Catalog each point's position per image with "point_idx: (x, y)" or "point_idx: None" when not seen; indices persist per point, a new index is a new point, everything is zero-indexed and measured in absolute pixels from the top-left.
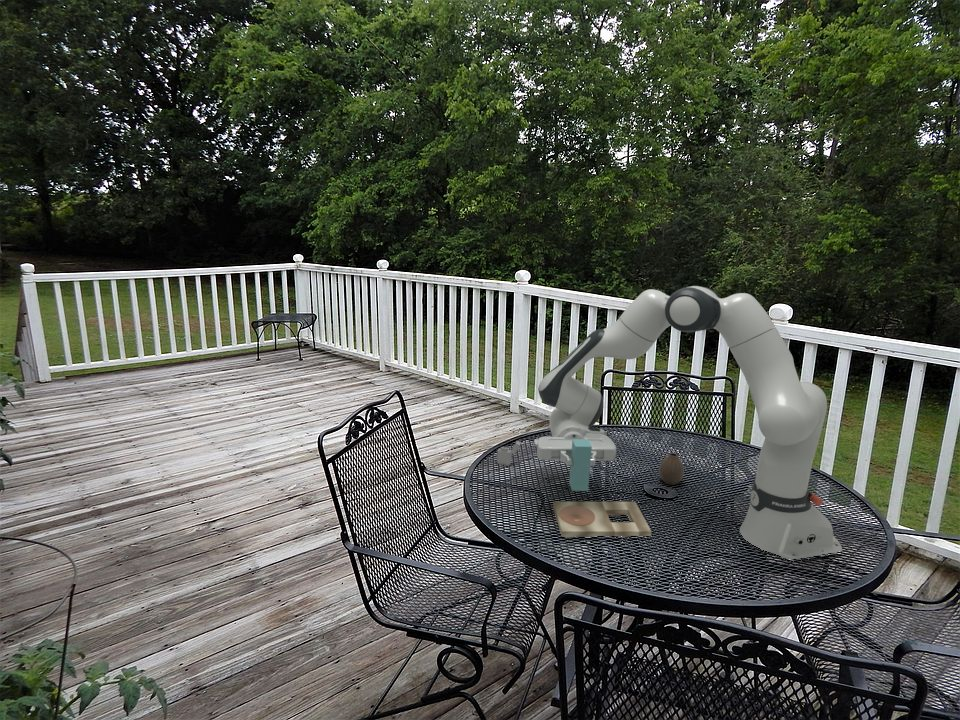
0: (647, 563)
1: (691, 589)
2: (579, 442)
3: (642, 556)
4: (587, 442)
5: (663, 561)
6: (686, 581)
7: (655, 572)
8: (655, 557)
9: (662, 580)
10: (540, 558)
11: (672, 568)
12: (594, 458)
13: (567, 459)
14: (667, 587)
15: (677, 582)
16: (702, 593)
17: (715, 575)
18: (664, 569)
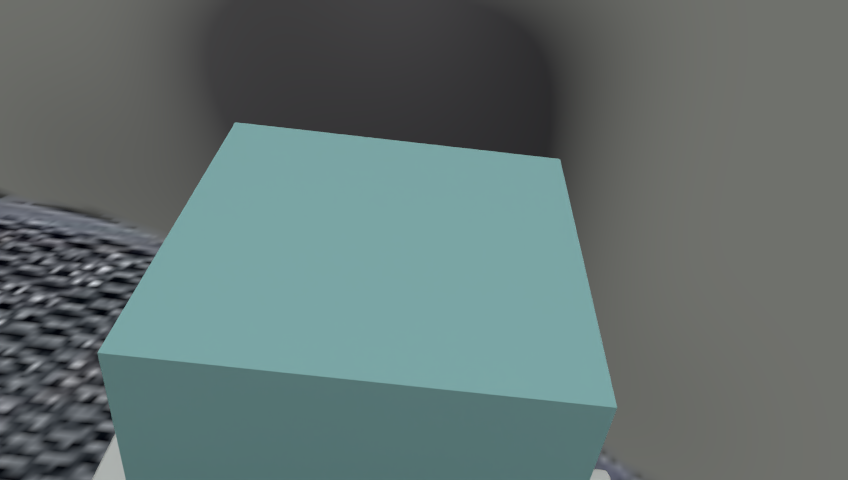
0: (98, 382)
1: (44, 253)
2: (437, 260)
3: (81, 428)
4: (228, 239)
5: (4, 385)
6: (22, 282)
7: (108, 333)
8: (18, 414)
9: (116, 297)
10: (619, 472)
11: (7, 343)
12: (110, 447)
13: (607, 476)
14: (127, 270)
15: (64, 282)
16: (22, 236)
17: None
18: (51, 343)
